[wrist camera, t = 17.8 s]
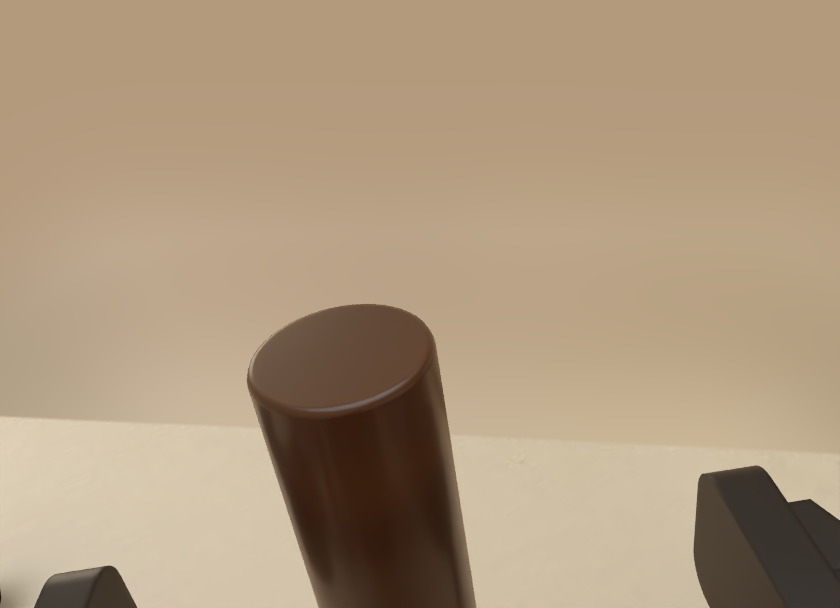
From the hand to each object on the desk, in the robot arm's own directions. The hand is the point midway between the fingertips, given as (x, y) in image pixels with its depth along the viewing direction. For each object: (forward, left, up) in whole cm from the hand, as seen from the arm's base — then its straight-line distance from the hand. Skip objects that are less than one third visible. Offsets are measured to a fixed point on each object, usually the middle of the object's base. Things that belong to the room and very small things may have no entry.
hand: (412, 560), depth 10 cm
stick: (-2, +1, -14) cm, 14 cm away
